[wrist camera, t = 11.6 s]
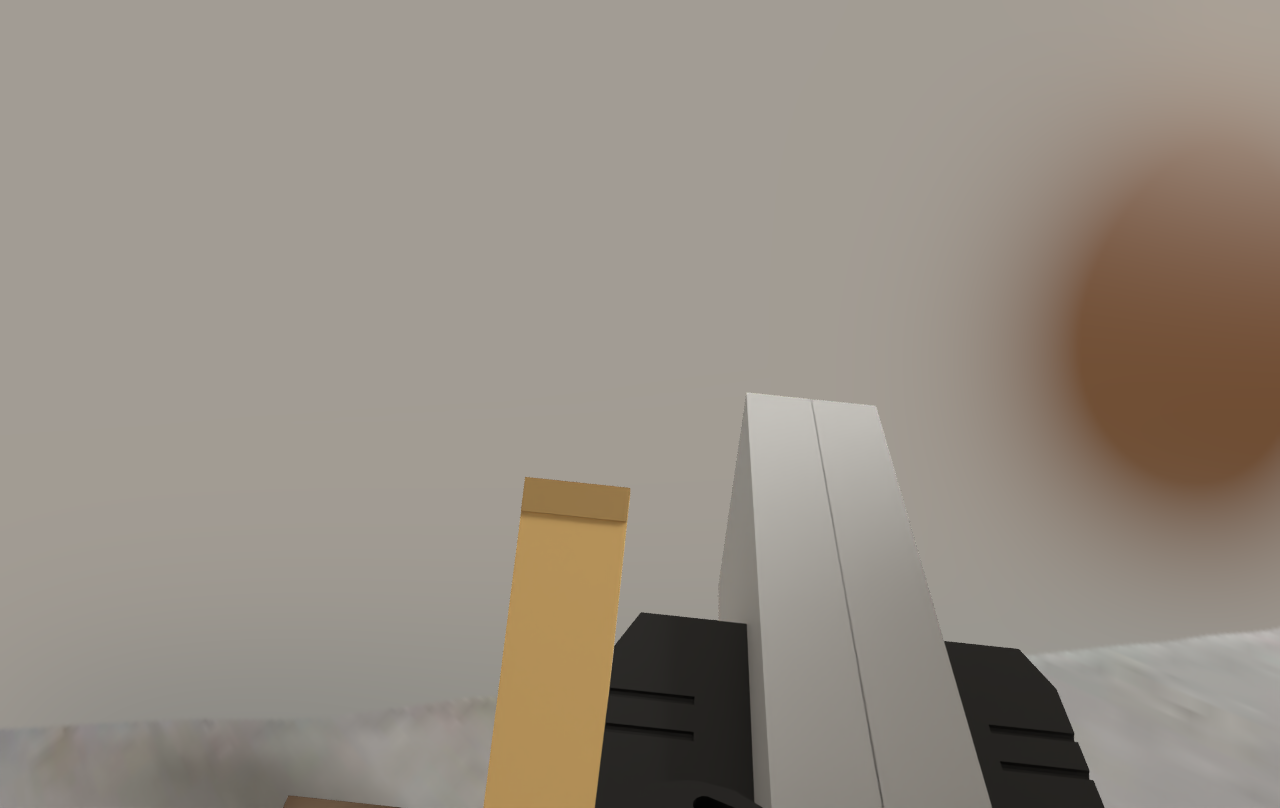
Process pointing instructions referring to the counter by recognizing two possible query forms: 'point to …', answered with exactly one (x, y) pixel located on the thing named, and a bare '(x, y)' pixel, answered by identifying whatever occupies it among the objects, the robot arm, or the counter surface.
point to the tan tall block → (558, 646)
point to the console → (325, 803)
